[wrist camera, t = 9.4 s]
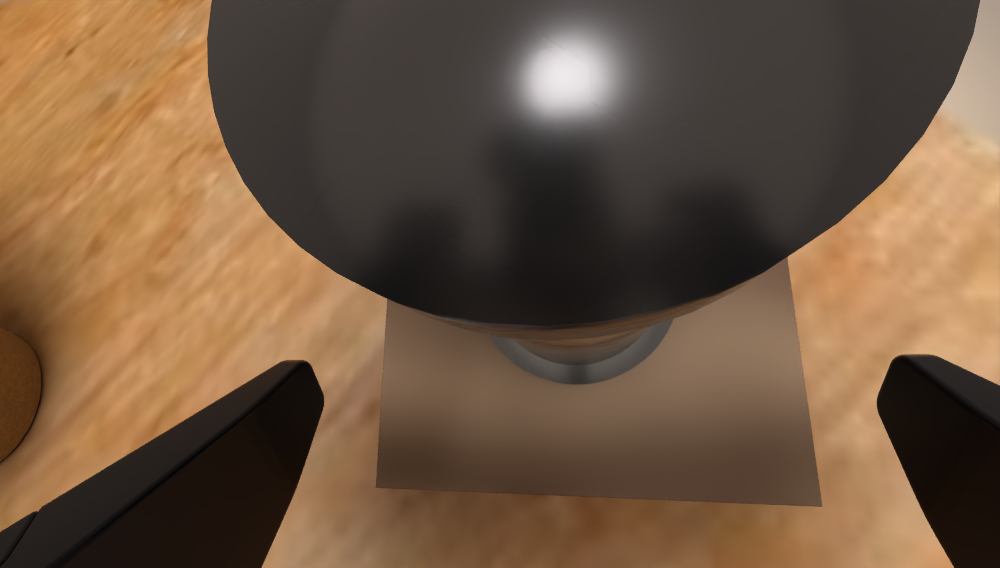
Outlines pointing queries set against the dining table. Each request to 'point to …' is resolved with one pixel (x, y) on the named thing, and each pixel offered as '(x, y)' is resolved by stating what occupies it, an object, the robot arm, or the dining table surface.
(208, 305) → the dining table surface
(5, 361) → the brown hollow tapered container
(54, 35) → the dining table surface
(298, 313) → the dining table surface
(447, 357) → the stand
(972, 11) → the cylinder
